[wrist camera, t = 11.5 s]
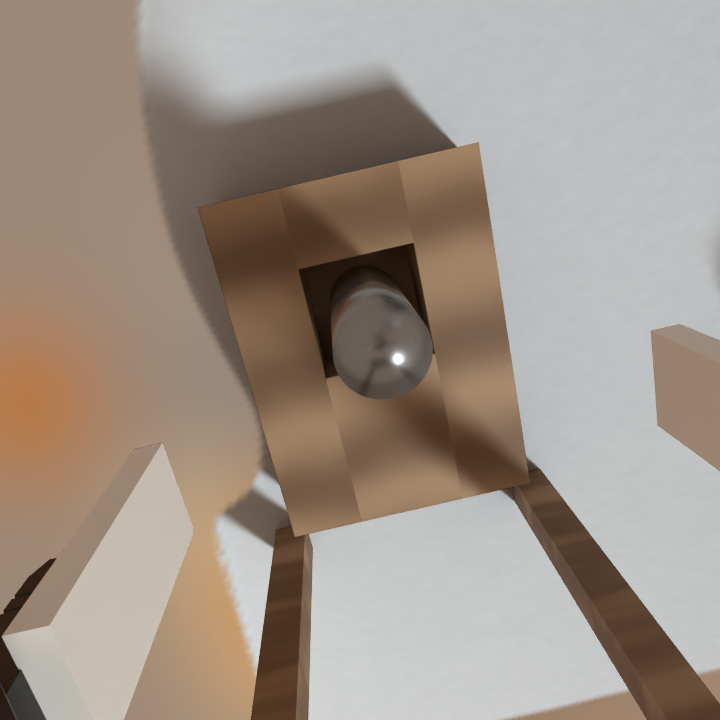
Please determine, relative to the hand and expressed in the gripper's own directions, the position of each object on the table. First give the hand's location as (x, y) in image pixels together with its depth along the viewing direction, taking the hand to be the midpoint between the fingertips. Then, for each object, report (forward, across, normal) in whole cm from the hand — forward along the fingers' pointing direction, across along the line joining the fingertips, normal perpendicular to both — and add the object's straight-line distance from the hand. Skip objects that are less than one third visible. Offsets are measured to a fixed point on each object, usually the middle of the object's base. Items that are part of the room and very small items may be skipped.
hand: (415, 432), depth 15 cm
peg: (+19, 0, 0) cm, 19 cm away
